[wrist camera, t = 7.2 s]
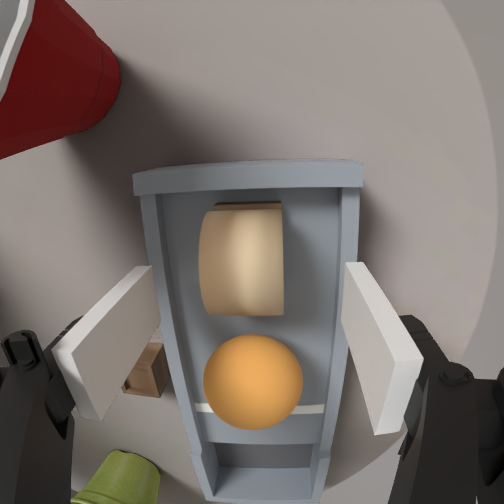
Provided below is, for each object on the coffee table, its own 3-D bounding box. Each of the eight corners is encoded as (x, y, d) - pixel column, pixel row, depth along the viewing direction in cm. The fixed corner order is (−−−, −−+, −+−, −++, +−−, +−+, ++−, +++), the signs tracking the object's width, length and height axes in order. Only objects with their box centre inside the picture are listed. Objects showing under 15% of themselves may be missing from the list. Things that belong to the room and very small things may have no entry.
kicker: (223, 288, 16) (206, 335, 12) (216, 202, 15) (193, 225, 11) (282, 287, 16) (283, 336, 12) (280, 200, 15) (282, 222, 11)
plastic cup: (198, 31, 14) (94, -92, 3) (115, 196, 18) (-44, 268, 7) (68, -3, 14) (-53, -57, 2) (8, 134, 17) (-127, 156, 6)
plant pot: (86, 455, 28) (58, 508, 20) (109, 426, 25) (74, 494, 17) (154, 493, 29) (136, 548, 21) (191, 472, 26) (173, 541, 18)
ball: (194, 322, 14) (224, 336, 19) (182, 427, 13) (215, 416, 17) (305, 330, 13) (307, 342, 18) (294, 444, 12) (300, 426, 16)
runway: (212, 468, 26) (206, 500, 22) (161, 167, 17) (131, 174, 13) (317, 469, 25) (319, 503, 21) (344, 159, 16) (363, 163, 13)
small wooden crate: (136, 371, 22) (123, 392, 20) (127, 340, 21) (112, 362, 19) (170, 374, 22) (160, 398, 19) (163, 343, 21) (150, 366, 18)
